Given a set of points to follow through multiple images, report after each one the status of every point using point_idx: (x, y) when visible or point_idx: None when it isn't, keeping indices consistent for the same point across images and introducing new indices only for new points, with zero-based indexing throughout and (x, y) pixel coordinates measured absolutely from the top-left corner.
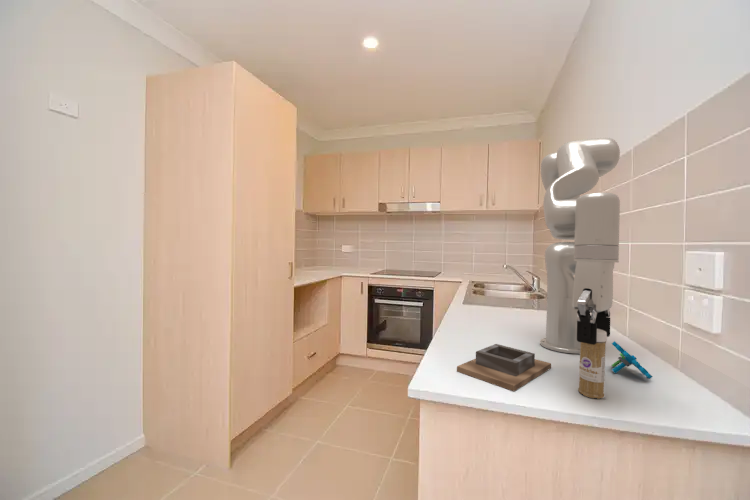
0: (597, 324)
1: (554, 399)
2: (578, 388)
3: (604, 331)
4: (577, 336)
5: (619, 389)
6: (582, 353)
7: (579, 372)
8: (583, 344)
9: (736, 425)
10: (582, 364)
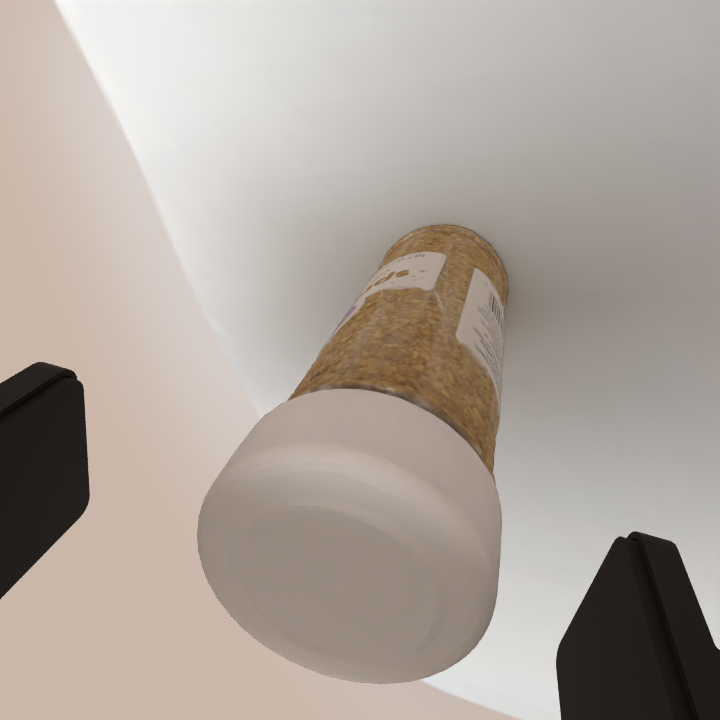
0: (627, 704)
1: (233, 110)
2: (443, 227)
3: (348, 674)
4: (9, 386)
5: (628, 424)
6: (340, 337)
7: (402, 261)
8: (307, 384)
9: (462, 687)
10: (355, 304)
